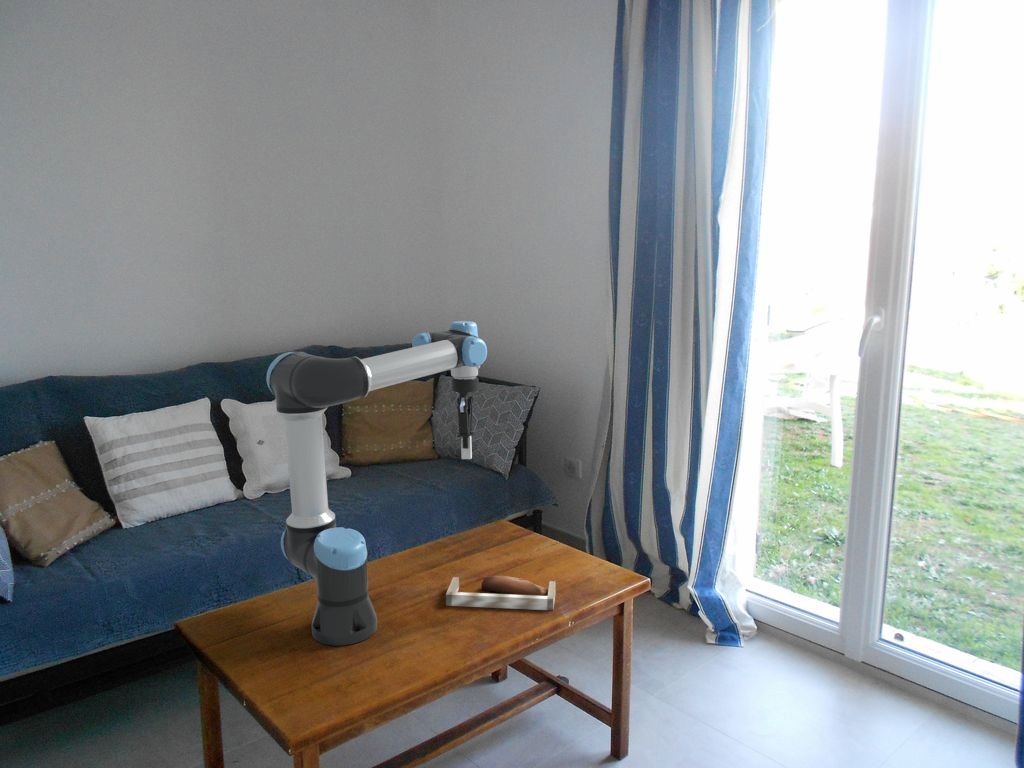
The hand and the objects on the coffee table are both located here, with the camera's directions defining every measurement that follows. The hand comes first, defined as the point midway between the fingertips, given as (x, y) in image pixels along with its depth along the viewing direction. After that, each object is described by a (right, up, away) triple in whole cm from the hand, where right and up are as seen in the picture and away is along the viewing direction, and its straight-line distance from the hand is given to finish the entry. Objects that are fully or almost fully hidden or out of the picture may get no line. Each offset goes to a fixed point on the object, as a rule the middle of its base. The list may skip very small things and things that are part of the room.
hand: (466, 458), depth 213 cm
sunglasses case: (+15, -34, -17) cm, 41 cm away
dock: (+10, -34, -21) cm, 41 cm away
